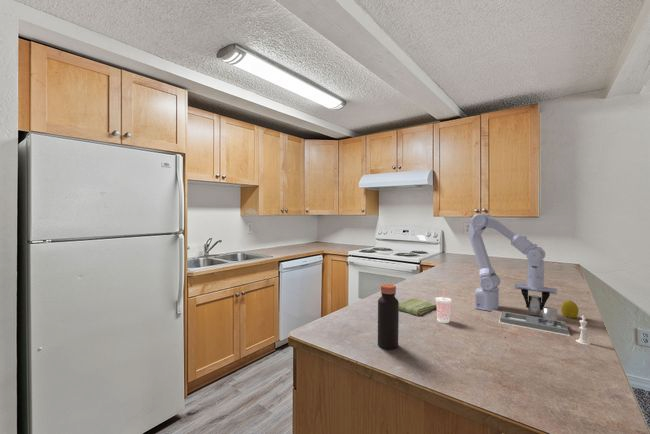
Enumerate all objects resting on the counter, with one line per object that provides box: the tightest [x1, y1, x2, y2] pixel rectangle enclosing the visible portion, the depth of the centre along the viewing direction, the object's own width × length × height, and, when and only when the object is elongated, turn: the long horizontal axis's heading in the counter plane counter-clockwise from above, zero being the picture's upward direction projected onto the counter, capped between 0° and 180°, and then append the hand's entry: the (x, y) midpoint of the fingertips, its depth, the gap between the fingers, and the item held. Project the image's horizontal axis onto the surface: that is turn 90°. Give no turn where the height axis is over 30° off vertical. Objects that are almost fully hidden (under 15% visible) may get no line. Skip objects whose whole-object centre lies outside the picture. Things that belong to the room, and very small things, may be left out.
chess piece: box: [575, 314, 591, 346], centre depth 101 cm, size 5×5×10 cm
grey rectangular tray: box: [497, 310, 571, 337], centre depth 117 cm, size 22×13×2 cm, turn 56°
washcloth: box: [399, 297, 437, 317], centre depth 138 cm, size 13×18×3 cm
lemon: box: [560, 299, 579, 319], centre depth 124 cm, size 6×6×8 cm
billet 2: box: [542, 306, 558, 327], centre depth 114 cm, size 4×4×7 cm
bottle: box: [377, 283, 400, 350], centre depth 100 cm, size 7×7×20 cm
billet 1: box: [527, 294, 542, 316], centre depth 125 cm, size 4×4×7 cm
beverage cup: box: [435, 286, 452, 324], centre depth 122 cm, size 6×6×14 cm
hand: (534, 308), depth 125 cm, fingers closed on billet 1, 4 cm apart
